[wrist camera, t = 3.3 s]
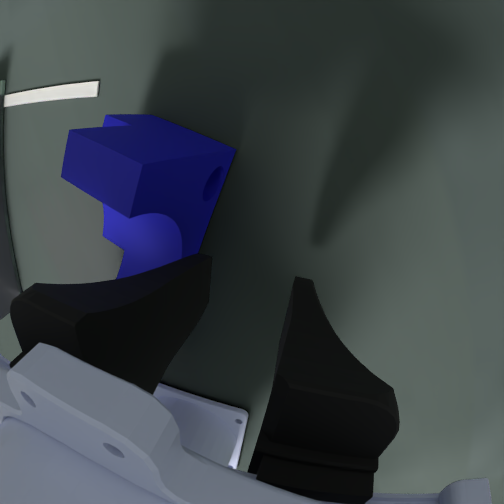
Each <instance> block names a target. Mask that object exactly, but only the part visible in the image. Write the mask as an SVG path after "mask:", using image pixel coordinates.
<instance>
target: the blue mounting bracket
mask: <svg viewBox="0 0 504 504" xmlns="http://www.w3.org/2000/svg"><path fill="white" fill-rule="evenodd" d="M235 152H236V149H234V148H232V147H229V146H227V145H225V144H223V143H220V142H218V141H216V140H213V139H211V138H208V137H206V136H204V135H201V134H199V133H196V132H194V131H192V130H189V129H187V128H184V127H182V126H179V125H177V124H174V123H172V122H169V121H166V120H164V119H161V118H159V117H156V116H153V115H139V114H119V115H106V116H105V119H104V123H103V127H96V128H83V129H72V130H69V134H68V139H67V144H66V150H65V155H64V161H63V167H62V174H61V177H62V178H63V179H65V180H66V181H68V182H70V183H71V184H73V185H75V186H76V187H78V188H79V189H81V190H83V191H84V192H86V193H87V194H89V195H91V196H92V197H94V198H96V199H97V200H99V201H101V202H102V203H103V208H104V229H103V236H104V237H105V238H107V239H108V240H110V241H111V242H113V243H114V244H116V245H117V246H119V247H120V248H122V249H123V250H125V251H124V255H123V259H122V263H121V266H120V269H119V273H118V275H117V278H116V279H120V278H124V277H129V276H132V275H136V274H140V273H143V272H146V271H149V270H152V269H155V268H158V267H161V266H163V265H166V264H169V263H171V262H174V261H177V260H179V259H182V258H184V257H187V256H190V255H193V254H197V253H198V252H199V249H200V246H201V243H202V240H203V238H204V235H205V232H206V229H207V226H208V224H209V221H210V218H211V215H212V213H213V210H214V207H215V204H216V202H217V199H218V196H219V194H220V191H221V188H222V186H223V183H224V180H225V178H226V175H227V173H228V170H229V167H230V165H231V162H232V160H233V157H234V154H235Z"/></svg>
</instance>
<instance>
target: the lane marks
mask: <svg viewBox="0 0 504 504" xmlns="http://www.w3.org/2000/svg"><path fill="white" fill-rule="evenodd" d="M98 91H99V81H94V82H84V83H75V84H67V85H60V86H53V87H47V88H41V89H35V90H29V91H24V92H19V93H14V94H9V95H5V98H4V107H7V106H13V105H20V104H26V103H33V102H41V101H50V100H59V99H69V98H82V97H97V96H98Z"/></svg>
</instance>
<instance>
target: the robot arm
mask: <svg viewBox="0 0 504 504" xmlns="http://www.w3.org/2000/svg"><path fill="white" fill-rule="evenodd" d="M211 266H212V257H211V256H207V255H203V254H199V253H197V254H193V255H190V256H187V257H184V258H182V259H179V260H177V261H174V262H171V263H169V264H166V265H163V266H161V267H158V268H155V269H152V270H149V271H146V272H143V273H140V274H136V275H132V276H129V277H124V278H120V279H115V280H109V281H102V282H95V283H84V284H43V283H35V284H33V285H32V286H31V287H29V288H28V289H26V290H25V291H24V292H22V293H21V294H19V295H18V296H17V297H15V298H14V299H13V300H12V302H11V305H10V316H11V320H12V324H13V327H14V330H15V332H16V335H17V338H18V341H19V343H20V346H21V349H22V351H23V352H22V353H21V354H19V355H18V356H17V357H16V358H15V359H14V360H13V361H12V362H10V361H9V360H8V359H6V358H5V357H3V356H2V355H1V354H0V504H492V500H491V493H490V487H489V481H488V478H478V479H466V480H459V481H456V482H453V483H451V484H449V485H448V486H446V487H445V488H444V489H443V490H442V491H441V492H440V493H431V494H392V493H373V482H374V473H375V472H376V471H377V470H378V457H379V456H380V455H381V454H382V453H383V451H384V450H385V449H386V448H387V447H388V445H389V444H390V443H391V442H392V440H393V439H394V438H395V436H396V434H397V433H398V431H399V423H400V421H399V411H398V406H397V401H396V397H395V394H394V389H393V388H392V387H391V386H389V385H388V384H387V383H385V382H384V381H382V380H381V379H380V378H378V377H377V376H375V375H374V374H373V373H372V372H370V371H369V370H368V369H367V368H366V367H365V366H364V365H363V364H361V363H360V362H359V361H358V360H357V359H356V358H355V357H354V356H353V354H352V353H351V352H350V351H349V350H348V349H347V348H346V347H345V345H344V344H343V343H342V342H341V340H340V339H339V338H338V336H337V335H336V333H335V332H334V330H333V328H332V327H331V325H330V323H329V321H328V319H327V317H326V315H325V313H324V311H323V309H322V307H321V304H320V302H319V299H318V296H317V294H316V290H315V287H314V283H313V281H312V280H310V279H306V278H301V277H297V276H296V277H295V280H294V283H293V287H292V292H291V296H290V300H289V305H288V309H287V313H286V318H285V322H284V326H283V330H282V334H281V339H280V343H279V350H278V356H277V362H276V369H275V375H274V381H273V387H272V391H271V395H270V399H269V402H268V406H267V409H266V413H265V416H264V420H263V423H262V426H261V430H260V433H259V436H258V440H257V443H256V446H255V449H254V453H253V456H252V459H251V462H250V466H249V469H248V472H244V471H240V470H237V465H238V461H239V456H240V452H241V447H242V443H243V438H244V434H245V429H246V425H247V420H248V413H247V411H245V410H243V409H240V408H236V407H233V406H229V405H226V404H222V403H219V402H215V401H212V400H209V399H206V398H202V397H199V396H196V395H193V394H190V393H187V392H184V391H181V390H178V389H175V388H172V387H170V386H167V385H164V384H161V383H159V382H160V380H161V378H162V376H163V374H164V372H165V370H166V369H167V367H168V365H169V363H170V362H171V360H172V359H173V357H174V356H175V354H176V353H177V352H178V350H179V349H180V347H181V346H182V344H183V343H184V342H185V340H186V339H187V337H188V336H189V335H190V333H191V332H192V330H193V329H194V327H195V326H196V324H197V323H198V321H199V320H200V318H201V316H202V314H203V312H204V310H205V308H206V306H207V304H208V302H209V292H210V279H211Z"/></svg>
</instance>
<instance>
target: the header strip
mask: <svg viewBox="0 0 504 504" xmlns="http://www.w3.org/2000/svg"><path fill="white" fill-rule="evenodd" d="M5 82H6V80H2V81H0V320H1V319H2V318H3V317H5V316H6V315H7V314H8V313H10V305H11V302H12V300H13V299H14V298H15V297H17V296H18V295H19V294H21V293H22V289H21V285H20V281H19V276H18V272H17V267H16V262H15V257H14V252H13V246H12V240H11V234H10V227H9V220H8V212H7V204H6V194H5V181H4V164H3V111H4V94H5Z"/></svg>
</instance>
